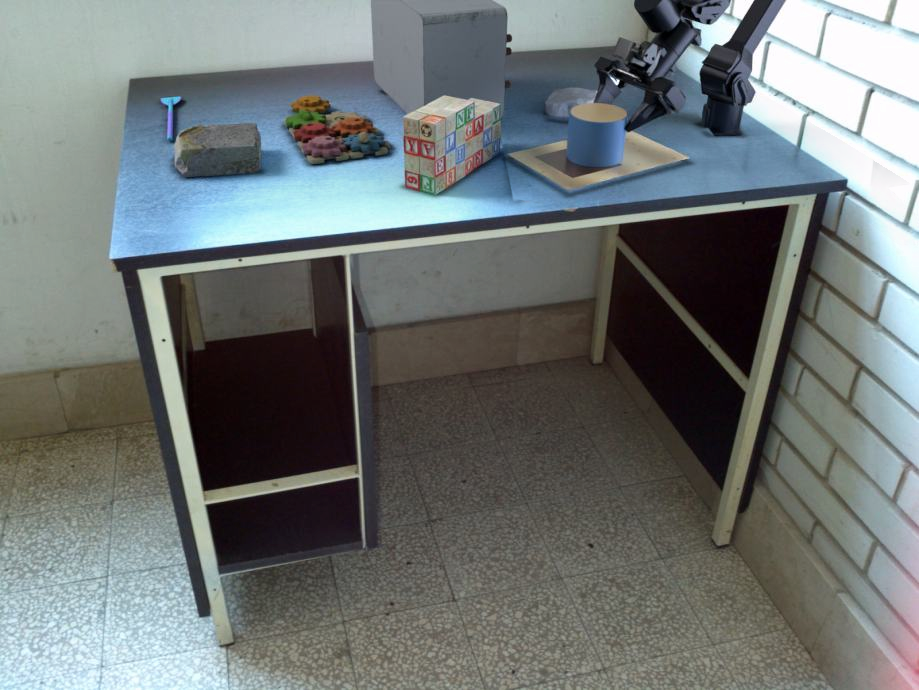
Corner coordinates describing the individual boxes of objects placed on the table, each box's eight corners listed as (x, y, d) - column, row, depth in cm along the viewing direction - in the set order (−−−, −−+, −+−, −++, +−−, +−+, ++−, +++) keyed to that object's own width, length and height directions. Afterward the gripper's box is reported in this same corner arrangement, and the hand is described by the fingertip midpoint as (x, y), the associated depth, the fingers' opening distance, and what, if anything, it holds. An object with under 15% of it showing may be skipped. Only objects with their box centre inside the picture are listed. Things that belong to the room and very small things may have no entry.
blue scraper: (162, 98, 183) (161, 93, 182) (182, 97, 184) (181, 92, 183) (150, 142, 163) (149, 136, 162) (174, 141, 163) (172, 135, 163)
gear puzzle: (272, 109, 178) (270, 89, 176) (349, 100, 183) (348, 81, 181) (308, 166, 154) (306, 144, 152) (396, 154, 159) (395, 133, 157)
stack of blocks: (471, 146, 163) (472, 80, 156) (500, 154, 160) (503, 86, 153) (404, 187, 148) (402, 115, 141) (435, 195, 145) (435, 122, 138)
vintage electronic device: (512, 126, 172) (518, -9, 158) (424, 138, 166) (422, -2, 152) (453, 78, 196) (454, -43, 182) (374, 87, 191) (369, -37, 177)
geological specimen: (262, 144, 150) (169, 147, 146) (264, 177, 153) (174, 181, 149) (258, 120, 158) (170, 122, 154) (260, 153, 161) (174, 155, 158)
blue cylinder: (617, 146, 161) (622, 102, 157) (627, 167, 153) (633, 122, 148) (562, 146, 161) (566, 102, 156) (569, 167, 153) (573, 122, 148)
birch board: (622, 131, 170) (623, 126, 170) (689, 163, 157) (689, 157, 157) (506, 159, 158) (506, 153, 158) (568, 195, 146) (568, 189, 145)
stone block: (544, 129, 175) (595, 123, 173) (541, 105, 173) (592, 98, 170) (551, 111, 185) (599, 105, 183) (548, 88, 183) (597, 82, 180)
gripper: (608, 7, 154) (552, 80, 156) (683, 32, 141) (622, 112, 143) (636, 47, 162) (583, 116, 164) (711, 74, 149) (652, 149, 150)
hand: (608, 122), depth 155 cm, fingers open, 9 cm apart
